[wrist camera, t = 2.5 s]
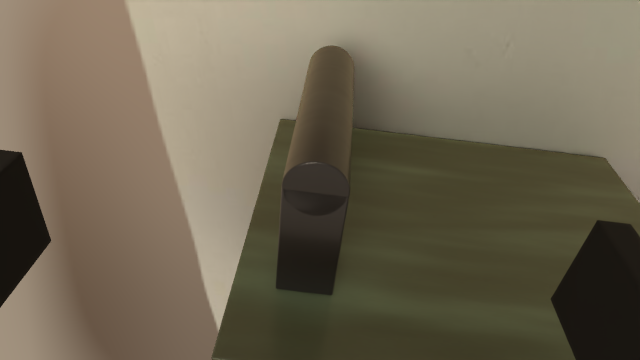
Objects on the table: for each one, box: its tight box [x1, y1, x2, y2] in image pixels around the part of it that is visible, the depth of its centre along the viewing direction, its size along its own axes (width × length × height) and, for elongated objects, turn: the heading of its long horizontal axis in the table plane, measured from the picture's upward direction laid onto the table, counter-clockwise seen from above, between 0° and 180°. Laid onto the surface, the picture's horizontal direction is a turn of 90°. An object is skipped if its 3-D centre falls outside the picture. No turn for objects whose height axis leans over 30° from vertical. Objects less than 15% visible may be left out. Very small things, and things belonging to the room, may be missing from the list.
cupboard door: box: [211, 46, 640, 360], centre depth 18 cm, size 6×18×15 cm, turn 84°
